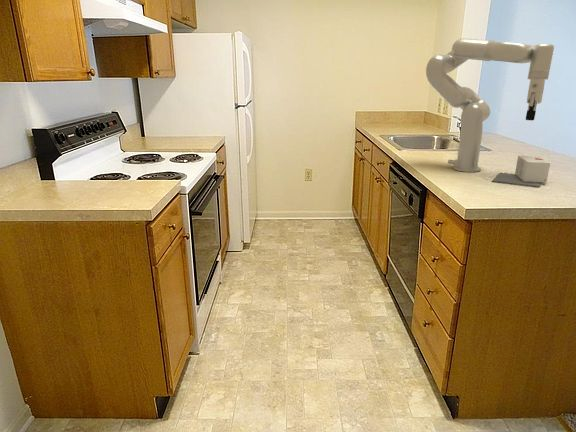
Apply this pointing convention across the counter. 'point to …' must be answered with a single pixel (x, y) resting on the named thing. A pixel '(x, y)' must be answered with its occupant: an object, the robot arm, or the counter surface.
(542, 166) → the supplement box
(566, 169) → the counter surface
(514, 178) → the mat
